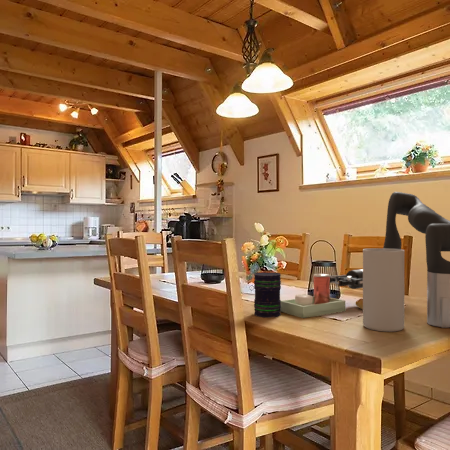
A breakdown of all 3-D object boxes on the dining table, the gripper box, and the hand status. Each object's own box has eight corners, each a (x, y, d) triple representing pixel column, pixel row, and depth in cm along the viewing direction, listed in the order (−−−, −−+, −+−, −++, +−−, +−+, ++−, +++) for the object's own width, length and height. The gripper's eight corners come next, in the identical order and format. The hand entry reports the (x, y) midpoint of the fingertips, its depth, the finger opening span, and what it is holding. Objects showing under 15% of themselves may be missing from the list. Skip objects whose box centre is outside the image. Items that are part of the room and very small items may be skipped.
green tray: (320, 305, 174) (320, 295, 174) (345, 311, 163) (345, 300, 163) (279, 311, 163) (279, 300, 163) (303, 318, 152) (303, 306, 152)
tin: (332, 307, 163) (332, 275, 163) (316, 307, 162) (316, 276, 162) (326, 304, 169) (326, 273, 169) (311, 304, 168) (311, 273, 168)
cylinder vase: (371, 320, 148) (371, 247, 147) (409, 326, 140) (409, 249, 139) (356, 328, 138) (356, 250, 138) (396, 334, 130) (396, 251, 130)
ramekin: (315, 309, 160) (316, 297, 160) (304, 311, 156) (304, 299, 156) (303, 305, 165) (303, 293, 165) (291, 307, 161) (291, 295, 161)
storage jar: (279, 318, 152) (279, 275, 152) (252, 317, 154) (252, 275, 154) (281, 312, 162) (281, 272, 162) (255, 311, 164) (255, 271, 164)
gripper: (346, 268, 182) (318, 270, 174) (374, 271, 170) (345, 274, 162) (346, 285, 183) (318, 289, 174) (374, 290, 170) (345, 294, 162)
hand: (331, 282), depth 168 cm, fingers open, 8 cm apart
